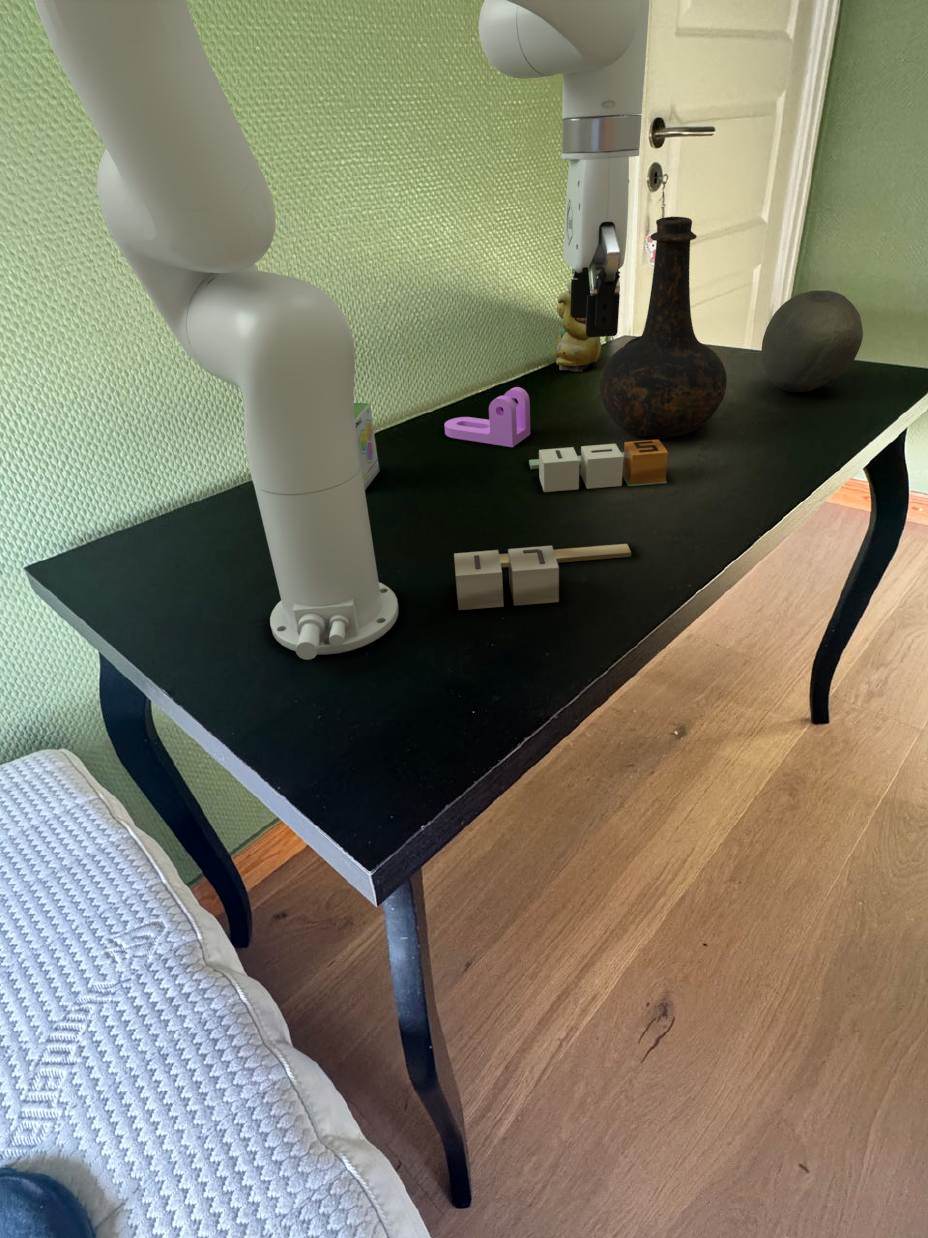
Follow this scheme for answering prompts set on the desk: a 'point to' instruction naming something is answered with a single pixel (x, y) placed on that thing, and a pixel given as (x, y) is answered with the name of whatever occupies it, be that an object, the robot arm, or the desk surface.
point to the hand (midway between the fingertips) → (592, 325)
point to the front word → (520, 573)
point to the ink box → (366, 442)
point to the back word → (596, 468)
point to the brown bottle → (665, 353)
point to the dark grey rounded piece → (811, 340)
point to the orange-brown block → (645, 461)
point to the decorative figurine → (574, 339)
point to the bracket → (496, 421)
